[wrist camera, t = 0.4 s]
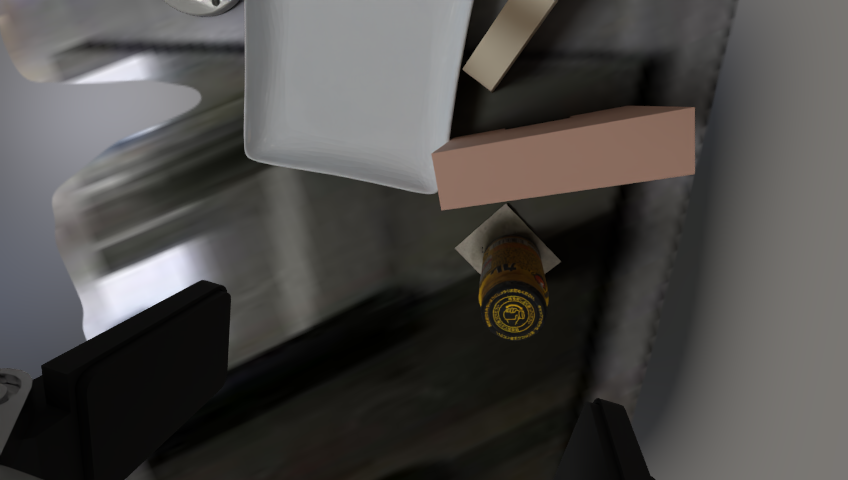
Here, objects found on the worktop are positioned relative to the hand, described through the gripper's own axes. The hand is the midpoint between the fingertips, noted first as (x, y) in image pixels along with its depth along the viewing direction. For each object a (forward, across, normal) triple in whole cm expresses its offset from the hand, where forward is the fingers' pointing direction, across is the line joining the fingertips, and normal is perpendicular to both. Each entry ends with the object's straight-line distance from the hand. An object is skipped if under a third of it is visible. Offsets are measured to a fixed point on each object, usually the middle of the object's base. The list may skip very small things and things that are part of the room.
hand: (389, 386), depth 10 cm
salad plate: (+34, +15, -8) cm, 38 cm away
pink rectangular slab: (+34, -4, -5) cm, 34 cm away
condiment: (+34, -4, +7) cm, 35 cm away
